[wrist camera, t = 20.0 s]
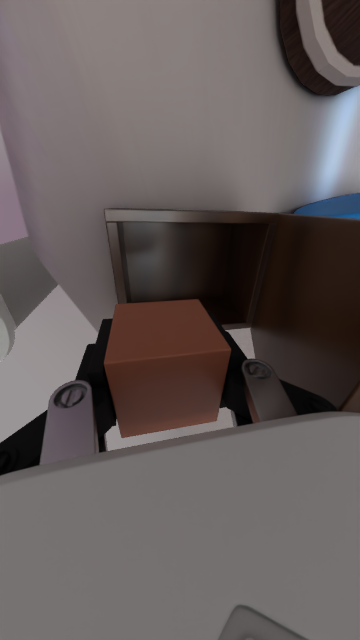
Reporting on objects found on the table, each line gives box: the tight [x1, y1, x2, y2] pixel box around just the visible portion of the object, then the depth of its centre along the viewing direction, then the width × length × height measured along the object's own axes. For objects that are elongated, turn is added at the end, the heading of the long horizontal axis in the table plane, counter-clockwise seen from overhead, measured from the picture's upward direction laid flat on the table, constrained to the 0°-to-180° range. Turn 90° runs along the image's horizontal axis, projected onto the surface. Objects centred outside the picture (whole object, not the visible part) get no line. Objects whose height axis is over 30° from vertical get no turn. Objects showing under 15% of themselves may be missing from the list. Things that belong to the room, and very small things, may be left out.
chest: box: [104, 208, 279, 330], centre depth 24 cm, size 16×13×9 cm
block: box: [104, 299, 231, 438], centre depth 9 cm, size 4×4×4 cm
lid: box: [250, 213, 360, 413], centre depth 13 cm, size 17×13×5 cm
